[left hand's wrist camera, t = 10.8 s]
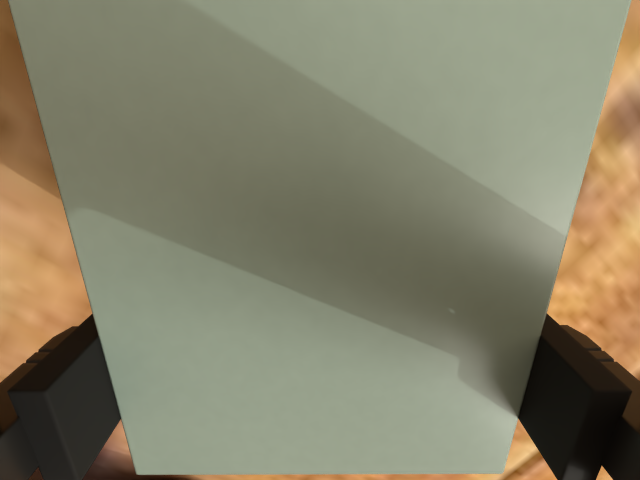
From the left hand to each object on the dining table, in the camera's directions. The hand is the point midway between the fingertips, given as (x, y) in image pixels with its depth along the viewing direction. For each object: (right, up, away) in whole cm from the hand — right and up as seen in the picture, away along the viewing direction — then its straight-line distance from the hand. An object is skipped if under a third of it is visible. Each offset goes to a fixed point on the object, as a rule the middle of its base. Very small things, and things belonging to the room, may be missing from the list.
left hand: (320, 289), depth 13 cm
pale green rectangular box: (0, +7, +3) cm, 8 cm away
